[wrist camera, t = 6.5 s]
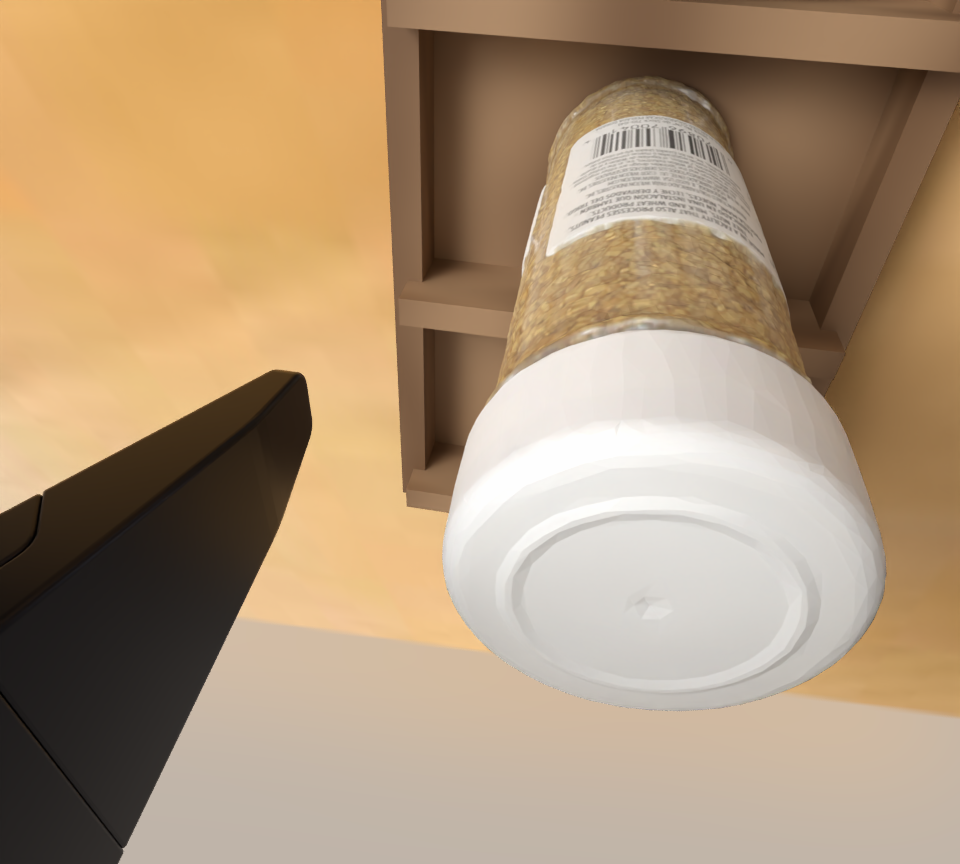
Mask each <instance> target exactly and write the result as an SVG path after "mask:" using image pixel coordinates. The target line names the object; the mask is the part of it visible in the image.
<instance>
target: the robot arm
mask: <svg viewBox="0 0 960 864" xmlns="http://www.w3.org/2000/svg"><path fill="white" fill-rule="evenodd" d="M311 431H312V416H311V409H310V402H309V396H308V389H307V383H306V380H305V377H304V376H303V375H302V374H301V373H299V372H292V371H285V370H272V371H269V372H267V373H265V374H264V375H262V376H260V377H258V378H256V379H254V380H252V381H250V382H248V383H247V384H245V385H243V386H241V387H239V388H237V389H235V390H233V391H231V392H230V393H228V394H226V395H224V396H222V397H220V398H218V399H216V400H215V401H213V402H211V403H209V404H207V405H205V406H203V407H201V408H199V409H198V410H196V411H194V412H192V413H190V414H188V415H186V416H184V417H182V418H181V419H179V420H177V421H175V422H173V423H171V424H169V425H167V426H166V427H164V428H162V429H160V430H158V431H156V432H154V433H152V434H150V435H149V436H147V437H145V438H143V439H141V440H139V441H137V442H135V443H133V444H132V445H130V446H128V447H126V448H124V449H122V450H120V451H118V452H116V453H115V454H113V455H111V456H109V457H107V458H105V459H103V460H101V461H99V462H98V463H96V464H94V465H92V466H90V467H88V468H86V469H84V470H82V471H81V472H79V473H77V474H75V475H73V476H71V477H69V478H67V479H65V480H64V481H62V482H60V483H58V484H56V485H54V486H52V487H50V488H48V489H47V490H45V491H44V492H43V496H42V495H40V494H37V495H35V496H33V497H31V498H29V499H27V500H26V501H24V502H22V503H20V504H18V505H16V506H14V507H12V508H11V509H9V510H7V511H5V512H3V513H1V514H0V864H118V863H119V860H120V858H121V856H122V854H123V849H122V848H124V847H125V846H126V845H127V843H128V841H129V839H130V837H131V835H132V833H133V830H134V828H135V826H136V824H137V822H138V820H139V818H140V816H141V813H142V812H143V810H144V808H145V806H146V804H147V801H148V799H149V797H150V795H151V793H152V791H153V789H154V787H155V785H156V783H157V781H158V779H159V777H160V775H161V772H162V770H163V768H164V766H165V764H166V762H167V760H168V758H169V756H170V754H171V751H172V749H173V748H174V745H175V743H176V741H177V739H178V737H179V735H180V733H181V731H182V729H183V727H184V725H185V723H186V720H187V718H188V716H189V714H190V712H191V710H192V708H193V706H194V704H195V702H196V700H197V698H198V696H199V694H200V691H201V689H202V687H203V685H204V683H205V681H206V679H207V677H208V675H209V673H210V671H211V669H212V666H213V665H214V662H215V660H216V658H217V656H218V654H219V652H220V650H221V648H222V646H223V644H224V642H225V639H226V637H227V635H228V633H229V631H230V629H231V627H232V625H233V623H234V621H235V619H236V617H237V615H238V613H239V611H240V608H241V606H242V604H243V602H244V600H245V598H246V596H247V594H248V592H249V590H250V588H251V586H252V584H253V581H254V579H255V577H256V575H257V573H258V571H259V569H260V567H261V565H262V563H263V561H264V559H265V557H266V555H267V552H268V550H269V548H270V546H271V544H272V542H273V540H274V538H275V535H276V533H277V531H278V529H279V526H280V524H281V521H282V518H283V516H284V513H285V510H286V507H287V504H288V501H289V498H290V495H291V492H292V489H293V486H294V483H295V480H296V477H297V475H298V472H299V469H300V466H301V463H302V460H303V457H304V454H305V451H306V448H307V445H308V442H309V439H310V436H311Z"/></svg>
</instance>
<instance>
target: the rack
mask: <svg viewBox="0 0 960 864" xmlns="http://www.w3.org/2000/svg"><path fill="white" fill-rule="evenodd" d="M381 9H382V32H383V54H384V76H385V98H386V121H387V143H388V165H389V188H390V210H391V232H392V255H393V277H394V299H395V322H396V344H397V366H398V389H399V411H400V433H401V456H402V478H403V492H405V493H406V498H407V506H408V507H414V508H421V509H427V510H434V511H440V512H447V513H449V510H450V505H451V501H452V496H453V491H454V487H455V482H456V479H457V475H458V471H459V468H460V464H461V460H462V457H463V453H464V449H465V446H466V442H467V439H468V436H469V433H470V431H471V429H472V427H473V425H474V423H475V421H476V419H477V417H478V416H479V414H480V413H481V411H482V410H483V408H484V407H485V405H486V402H487V400H488V398H489V397H490V396H491V394H492V393H493V391H494V390H495V389H496V386H497V382H498V378H499V373H500V369H501V365H502V362H503V358H504V354H505V350H506V345H507V335H508V333H509V329H510V323H511V320H512V317H513V312H514V307H515V304H516V300H517V295H518V290H519V286H520V283H521V278H522V264H523V259H524V254H525V250H526V246H527V242H528V239H529V235H530V231H531V227H532V223H533V219H534V216H535V212H536V208H537V205H538V201H539V198H540V195H541V192H542V190H543V188H544V186H545V185H546V179H547V171H548V169H547V168H548V164H549V163H548V157H549V153H550V150H551V147H552V145H553V143H554V140H555V137H556V135H557V132H558V130H559V128H560V126H561V125H562V123H563V121H564V120H565V119H566V118H567V116H568V115H569V114H570V113H571V112H572V111H573V110H574V109H575V108H576V107H577V106H578V105H580V104H581V103H582V102H583V100H584V99H585V98H586V97H587V96H589V95H590V94H593V93H595V92H597V91H598V90H600V89H602V88H603V87H605V86H608V85H610V84H612V83H613V82H615V81H619V80H623V79H626V78H635V77H642V76H659V77H662V78H665V79H667V80H675V81H679V82H681V83H683V84H684V85H686V86H688V87H691V88H694V89H695V90H697V91H699V92H700V93H701V94H702V95H703V96H705V97H706V98H707V99H708V100H709V101H710V102H711V103H712V104H713V105H714V107H715V108H716V109H717V110H718V112H719V113H720V115H721V116H722V118H723V120H724V122H725V124H726V126H727V128H728V131H729V134H730V142H731V145H732V148H733V154H734V161H735V163H736V165H737V167H738V168H739V170H740V172H741V174H742V177H743V179H744V182H745V185H746V187H747V190H748V193H749V195H750V198H751V201H752V203H753V206H754V209H755V212H756V214H757V217H758V220H759V223H760V225H761V228H762V231H763V234H764V237H765V240H766V243H767V246H768V249H769V252H770V254H771V257H772V260H773V262H774V265H775V268H776V271H777V274H778V277H779V279H780V282H781V285H782V288H783V291H784V294H785V297H786V300H787V305H788V309H789V313H790V322H791V328H792V332H793V334H794V337H795V340H796V343H797V346H798V349H799V352H800V354H801V357H802V361H803V365H804V369H805V373H806V375H807V377H809V378H810V380H811V382H812V386H813V387H814V388H815V389H816V390H817V391H818V392H819V393H820V394H821V395H822V396H823V398H824V396H825V394H826V392H827V390H828V387H829V385H830V383H831V381H832V380H834V378H835V375H836V373H837V371H838V369H839V367H840V364H841V362H842V360H843V358H844V356H845V350H846V348H847V346H848V343H849V341H850V339H851V337H852V335H853V332H854V330H855V328H856V326H857V324H858V321H859V319H860V317H861V315H862V312H863V310H864V308H865V306H866V304H867V301H868V299H869V297H870V295H871V293H872V290H873V288H874V286H875V284H876V282H877V279H878V277H879V275H880V273H881V271H882V268H883V266H884V264H885V262H886V260H887V257H888V255H889V253H890V251H891V249H892V246H893V244H894V242H895V240H896V238H897V235H898V233H899V231H900V229H901V227H902V224H903V222H904V220H905V218H906V215H907V213H908V211H909V209H910V207H911V204H912V202H913V200H914V198H915V196H916V193H917V191H918V189H919V187H920V185H921V182H922V180H923V178H924V176H925V174H926V171H927V169H928V167H929V165H930V163H931V160H932V158H933V156H934V154H935V152H936V149H937V147H938V145H939V143H940V141H941V138H942V136H943V134H944V132H945V130H946V127H947V125H948V123H949V121H950V118H951V116H952V114H953V112H954V110H955V107H956V105H957V103H958V101H959V99H960V0H381Z"/></svg>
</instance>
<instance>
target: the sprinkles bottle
mask: <svg viewBox="0 0 960 864" xmlns="http://www.w3.org/2000/svg"><path fill="white" fill-rule="evenodd" d="M548 163H549V164H548V168H547V169H548V171H547V179H546V185H545V186H544V188H543V190H542V192H541V195H540V198H539V201H538V205H537V208H536V212H535V216H534V219H533V223H532V227H531V231H530V235H529V239H528V242H527V246H526V250H525V254H524V259H523V264H522V278H521V283H520V286H519V290H518V295H517V300H516V304H515V307H514V312H513V317H512V320H511V323H510V329H509V333H508V335H507V345H506V350H505V354H504V358H503V362H502V365H501V369H500V373H499V378H498V382H497V386H496V389H495V390H494V391H493V393H492V394H491V396H490V397H489V398H488V400H487V402H486V405H485V407H484V408H483V410H482V411H481V413H480V414H479V416H478V417H477V419H476V421H475V423H474V425H473V427H472V429H471V431H470V433H469V436H468V439H467V442H466V446H465V449H464V453H463V457H462V460H461V464H460V468H459V471H458V475H457V479H456V482H455V487H454V491H453V496H452V501H451V505H450V510H449V515H448V519H447V524H446V529H445V534H444V540H443V554H442V560H443V570H444V577H445V581H446V587H447V590H448V592H449V595H450V597H451V599H452V602H453V604H454V606H455V608H456V610H457V611H458V613H459V615H460V616H461V618H462V619H463V621H464V622H465V623H466V625H467V626H468V628H469V629H470V630H471V631H472V632H473V634H474V635H475V636H476V637H477V638H478V639H479V640H480V641H481V642H482V643H483V644H484V645H485V646H486V647H487V648H488V649H489V650H491V651H492V652H493V653H494V654H496V655H497V656H498V657H499V658H500V659H502V660H503V661H504V662H506V663H508V664H509V665H511V666H512V667H514V668H515V669H517V670H519V671H521V672H522V673H524V674H525V675H527V676H529V677H531V678H533V679H535V680H537V681H539V682H541V683H543V684H545V685H548V686H550V687H553V688H555V689H558V690H560V691H563V692H565V693H568V694H571V695H574V696H577V697H580V698H584V699H587V700H590V701H595V702H601V703H605V704H609V705H614V706H619V707H626V708H636V709H645V710H665V711H668V710H669V711H689V710H704V709H716V708H724V707H730V706H735V705H741V704H745V703H748V702H752V701H756V700H760V699H763V698H766V697H769V696H772V695H775V694H778V693H780V692H783V691H786V690H788V689H791V688H793V687H795V686H797V685H799V684H802V683H804V682H806V681H808V680H810V679H811V678H813V677H815V676H817V675H818V674H820V673H821V672H823V671H825V670H826V669H828V668H829V667H831V666H832V665H833V664H835V663H836V662H837V661H838V660H840V659H841V658H842V657H843V656H844V655H845V654H846V653H847V652H848V651H849V650H850V649H851V648H852V647H853V646H854V645H855V644H856V643H857V642H858V641H859V640H860V639H861V637H862V636H863V635H864V633H865V632H866V631H867V629H868V628H869V626H870V624H871V623H872V621H873V620H874V618H875V615H876V613H877V610H878V608H879V606H880V603H881V601H882V598H883V594H884V588H885V578H886V557H885V552H884V548H883V543H882V538H881V534H880V530H879V527H878V524H877V521H876V517H875V514H874V511H873V508H872V504H871V501H870V498H869V495H868V492H867V489H866V487H865V484H864V481H863V478H862V475H861V473H860V470H859V467H858V464H857V461H856V459H855V456H854V453H853V450H852V448H851V445H850V442H849V440H848V437H847V435H846V433H845V431H844V429H843V427H842V425H841V423H840V421H839V419H838V417H837V415H836V414H835V412H834V411H833V410H832V408H831V407H830V406H829V404H828V403H827V401H826V400H825V399H824V398H823V396H822V395H821V394H820V393H819V392H818V391H817V390H816V389H815V388H814V387H813V386H812V382H811V380H810V378H809V377H807V375H806V373H805V369H804V365H803V361H802V357H801V354H800V352H799V349H798V346H797V343H796V340H795V337H794V334H793V332H792V328H791V322H790V313H789V309H788V305H787V300H786V297H785V294H784V291H783V288H782V285H781V282H780V279H779V277H778V274H777V271H776V268H775V265H774V262H773V260H772V257H771V254H770V252H769V249H768V246H767V243H766V240H765V237H764V234H763V231H762V228H761V225H760V223H759V220H758V217H757V214H756V212H755V209H754V206H753V203H752V201H751V198H750V195H749V193H748V190H747V187H746V185H745V182H744V179H743V177H742V174H741V172H740V170H739V168H738V167H737V165H736V163H735V161H734V154H733V148H732V145H731V142H730V134H729V131H728V128H727V126H726V124H725V122H724V120H723V118H722V116H721V115H720V113H719V112H718V110H717V109H716V108H715V107H714V105H713V104H712V103H711V102H710V101H709V100H708V99H707V98H706V97H705V96H703V95H702V94H701V93H700V92H699V91H697V90H695V89H694V88H691V87H688V86H686V85H684V84H683V83H681V82H679V81H675V80H667V79H665V78H662V77H659V76H642V77H635V78H626V79H623V80H619V81H615V82H613V83H612V84H610V85H608V86H605V87H603V88H602V89H600V90H598V91H597V92H595V93H593V94H590V95H589V96H587V97H586V98H585V99H584V100H583V102H582V103H581V104H580V105H578V106H577V107H576V108H575V109H574V110H573V111H572V112H571V113H570V114H569V115H568V116H567V118H566V119H565V120H564V121H563V123H562V125H561V126H560V128H559V130H558V132H557V135H556V137H555V140H554V143H553V145H552V147H551V150H550V153H549V157H548Z"/></svg>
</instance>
